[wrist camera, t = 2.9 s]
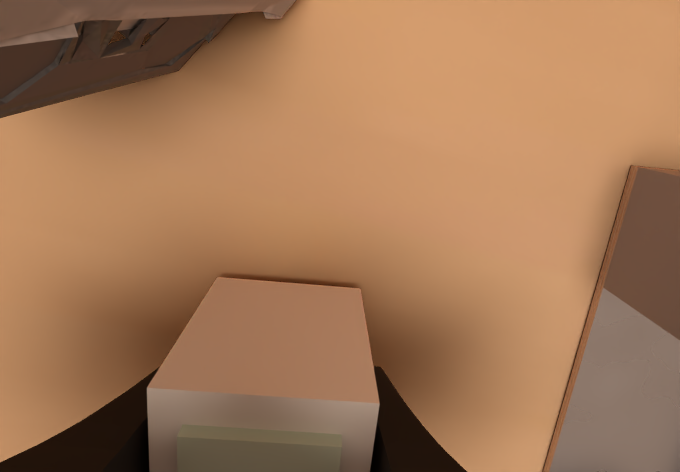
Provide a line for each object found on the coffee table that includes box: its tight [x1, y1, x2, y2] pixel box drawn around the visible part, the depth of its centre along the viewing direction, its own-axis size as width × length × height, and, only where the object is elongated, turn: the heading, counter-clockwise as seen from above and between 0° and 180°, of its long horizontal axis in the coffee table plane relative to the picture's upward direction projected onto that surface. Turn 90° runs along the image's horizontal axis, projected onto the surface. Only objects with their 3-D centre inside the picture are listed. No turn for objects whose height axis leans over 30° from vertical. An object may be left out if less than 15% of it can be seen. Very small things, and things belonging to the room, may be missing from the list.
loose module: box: [147, 277, 380, 472], centre depth 11 cm, size 5×4×5 cm
